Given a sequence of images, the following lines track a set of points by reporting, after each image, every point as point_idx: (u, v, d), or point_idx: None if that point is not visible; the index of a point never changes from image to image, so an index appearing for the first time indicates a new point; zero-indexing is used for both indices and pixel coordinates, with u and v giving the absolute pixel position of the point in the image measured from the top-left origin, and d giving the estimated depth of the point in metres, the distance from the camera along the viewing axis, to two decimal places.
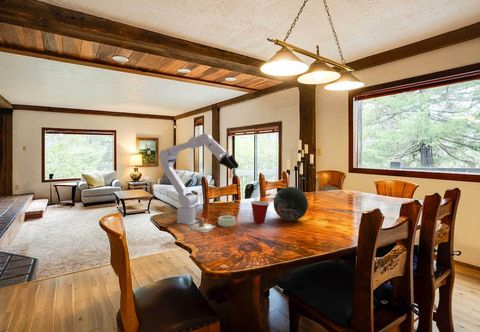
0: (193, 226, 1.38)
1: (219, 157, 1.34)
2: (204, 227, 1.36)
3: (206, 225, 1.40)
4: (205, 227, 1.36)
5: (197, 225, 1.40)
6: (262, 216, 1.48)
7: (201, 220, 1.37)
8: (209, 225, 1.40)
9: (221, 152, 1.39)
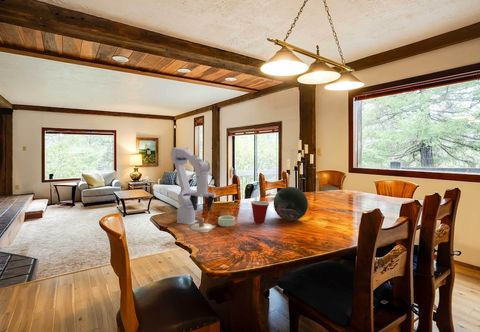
0: (193, 226, 1.38)
1: None
2: (204, 227, 1.36)
3: (206, 225, 1.40)
4: (205, 227, 1.36)
5: (197, 225, 1.40)
6: (262, 216, 1.48)
7: (201, 220, 1.37)
8: (209, 225, 1.40)
9: None
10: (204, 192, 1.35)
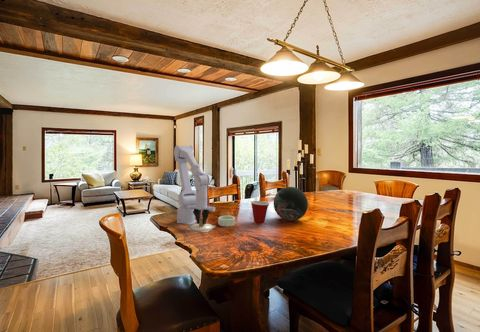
0: (193, 226, 1.38)
1: None
2: (204, 227, 1.36)
3: (206, 225, 1.40)
4: (205, 227, 1.36)
5: (197, 225, 1.40)
6: (262, 216, 1.48)
7: (201, 220, 1.37)
8: (209, 225, 1.40)
9: (196, 204, 1.37)
10: (203, 206, 1.36)
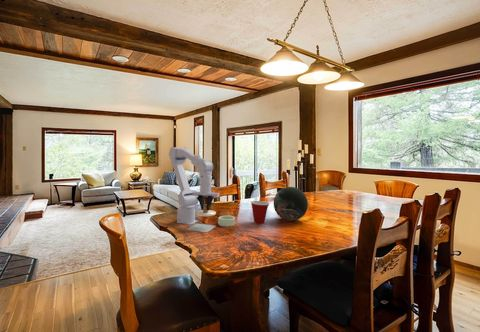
0: (197, 212, 1.39)
1: None
2: (208, 213, 1.37)
3: (210, 211, 1.41)
4: (209, 213, 1.37)
5: (201, 211, 1.40)
6: (262, 216, 1.48)
7: (205, 206, 1.38)
8: (213, 211, 1.41)
9: (200, 190, 1.38)
10: (207, 192, 1.36)
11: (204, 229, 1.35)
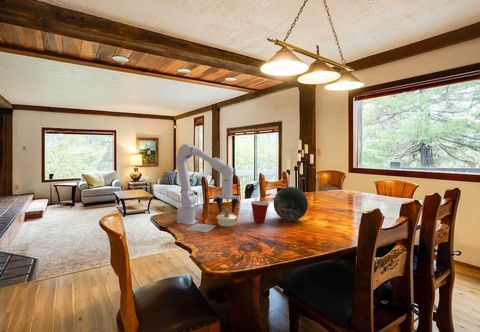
0: (219, 216, 1.45)
1: None
2: (229, 217, 1.43)
3: (231, 215, 1.47)
4: (230, 217, 1.43)
5: (222, 215, 1.47)
6: (262, 216, 1.48)
7: (226, 210, 1.44)
8: (234, 215, 1.47)
9: (222, 193, 1.44)
10: (229, 195, 1.43)
11: (204, 229, 1.35)
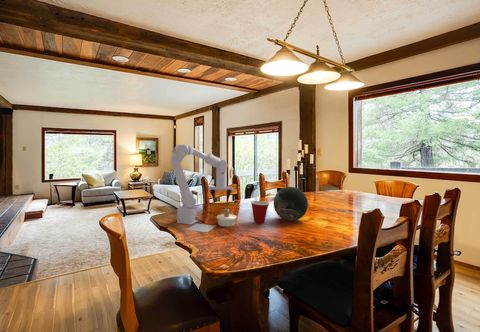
0: (219, 216, 1.45)
1: None
2: (229, 217, 1.43)
3: (231, 215, 1.47)
4: (230, 217, 1.43)
5: (222, 215, 1.47)
6: (262, 216, 1.48)
7: (226, 210, 1.44)
8: (234, 215, 1.47)
9: (216, 185, 1.56)
10: (224, 186, 1.56)
11: (204, 229, 1.35)
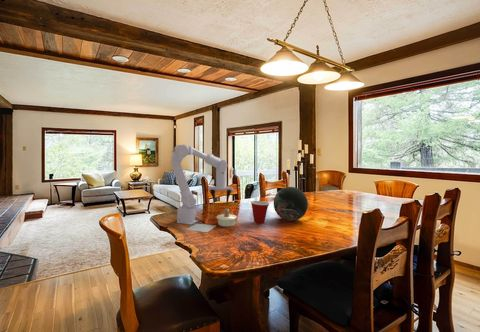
0: (219, 216, 1.45)
1: None
2: (229, 217, 1.43)
3: (231, 215, 1.47)
4: (230, 217, 1.43)
5: (222, 215, 1.47)
6: (262, 216, 1.48)
7: (226, 210, 1.44)
8: (234, 215, 1.47)
9: (216, 185, 1.57)
10: (224, 186, 1.56)
11: (204, 229, 1.35)
